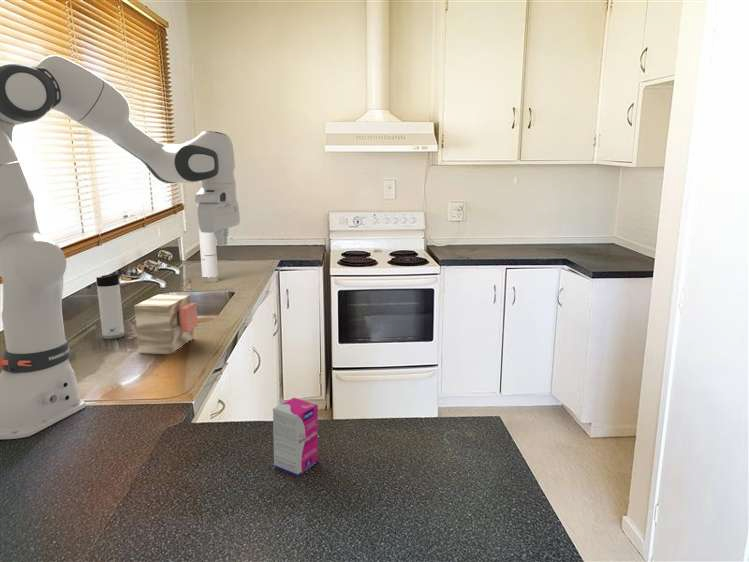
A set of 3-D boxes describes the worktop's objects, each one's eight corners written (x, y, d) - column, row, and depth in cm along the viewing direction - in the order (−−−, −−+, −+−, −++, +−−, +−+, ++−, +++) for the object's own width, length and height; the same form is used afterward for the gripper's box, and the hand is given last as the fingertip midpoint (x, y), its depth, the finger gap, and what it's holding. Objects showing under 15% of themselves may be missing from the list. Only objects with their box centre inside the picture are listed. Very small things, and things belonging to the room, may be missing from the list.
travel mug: (117, 340, 169) (110, 276, 165) (98, 338, 170) (91, 275, 166) (129, 333, 175) (123, 272, 171) (111, 332, 176) (104, 271, 172)
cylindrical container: (215, 283, 250) (212, 228, 245) (200, 283, 250) (196, 228, 245) (220, 279, 257) (217, 226, 252) (205, 279, 257) (201, 226, 252)
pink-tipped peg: (187, 332, 158) (185, 308, 157) (141, 330, 160) (139, 307, 158) (197, 325, 165) (196, 302, 164) (153, 324, 167) (151, 301, 165)
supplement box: (299, 478, 94) (297, 416, 92) (273, 468, 97) (270, 408, 95) (319, 462, 99) (318, 403, 97) (294, 453, 102) (292, 396, 100)
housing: (172, 354, 156) (168, 306, 153) (138, 352, 157) (134, 305, 154) (193, 338, 170) (190, 294, 167) (162, 337, 171) (158, 294, 168)
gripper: (222, 192, 158) (225, 240, 161) (191, 196, 138) (195, 250, 141) (244, 192, 157) (246, 240, 160) (215, 196, 137) (219, 251, 140)
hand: (222, 245), depth 150 cm, fingers closed
